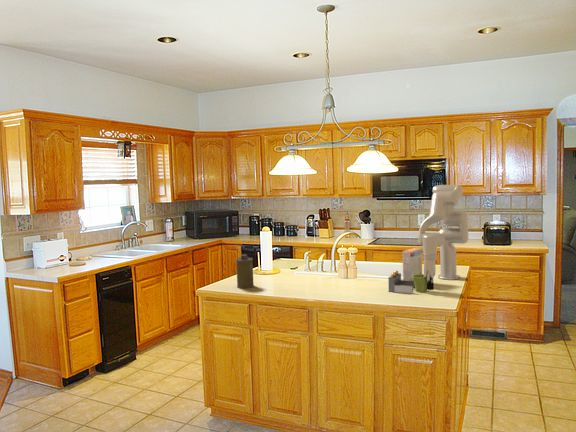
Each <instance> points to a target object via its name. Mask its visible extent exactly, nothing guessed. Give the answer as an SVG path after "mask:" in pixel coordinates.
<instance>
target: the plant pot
mask: <svg viewBox="0 0 576 432" xmlns="http://www.w3.org/2000/svg"><path fill="white" fill-rule="evenodd" d="M412 277H413V280H414V283H415V288H414V289H415V292H418V293H423V292H426V293H427V291H428V290H427V277H425V278H424V273H422V274H417V275H413V276H412Z"/></svg>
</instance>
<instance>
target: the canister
mask: <svg viewBox="0 0 576 432" xmlns="http://www.w3.org/2000/svg"><path fill="white" fill-rule="evenodd" d="M253 259H254V258H253V257H249V256H248V254H241V255H240V257H238V258H236V259H235V261H236V262H235V264H236V282H237V283H236V284H237V286H236V287H237V288H238V289H251V288H254V286H255V285H254V266H253V265H254V264H253Z"/></svg>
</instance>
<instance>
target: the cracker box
mask: <svg viewBox="0 0 576 432" xmlns="http://www.w3.org/2000/svg"><path fill="white" fill-rule="evenodd" d="M401 254H402V256H401V257H402V280H410V281H414V280H413V277H412V276H413V275H417V274H423V248H420V247H413V248H408V249H406V250H402V253H401Z"/></svg>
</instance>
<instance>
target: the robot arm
mask: <svg viewBox="0 0 576 432" xmlns="http://www.w3.org/2000/svg"><path fill="white" fill-rule="evenodd" d="M431 192H432V195H431V200H430V201H431V202H430V209H429V215H428V216H427V217H426V218H425V219H424V220H423V221H422V223H421V224H420V226H419V230H418V236H417V241H418V244H419V245H420V246H422V261H424V262H423V274H424V278H425V277H427V291H433V290H434V289H435V287H434V285H435V283H434V277H435V276H436V271H437V270H436V261H438V247H439V249H440V251H439V252H440V253H439V255H440V256H439V257H440V261H439V262H440V263H439V264H440V265H439V267H440V268H439V269H440V274H438V275H437V278H438V279H440V280H448V281H449V280H451V281H452V280H458V279H460V276H459V274H457V249H456V248H455V246H454V244H460V245H461V244H464V245H465V244H466V243H468V241H469V219H468V214H467V213H466V211H464V210H455V207H456V206H457V205H458V204H459V202H460V200H461V199H462V197H463V193H464V190H463V187H462V186H461V185H459V184H439V185H434V186H433V187H432V191H431ZM438 222H440V223H441V225H442V226H445V227H443V228H440V230H439V231H438V232H426V231H427V229H428V228H429V227H431V226H432V225H434V224H436V223H438Z"/></svg>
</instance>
